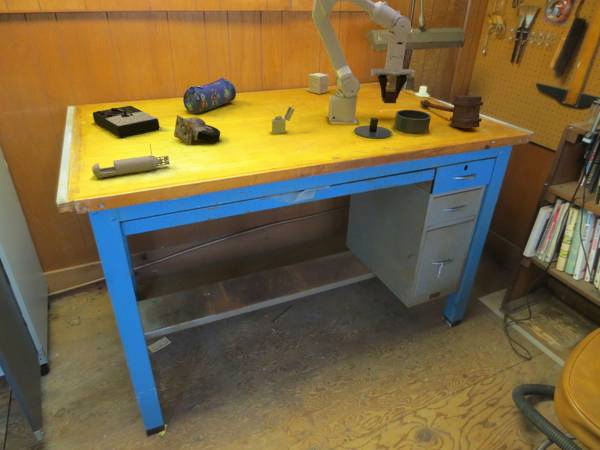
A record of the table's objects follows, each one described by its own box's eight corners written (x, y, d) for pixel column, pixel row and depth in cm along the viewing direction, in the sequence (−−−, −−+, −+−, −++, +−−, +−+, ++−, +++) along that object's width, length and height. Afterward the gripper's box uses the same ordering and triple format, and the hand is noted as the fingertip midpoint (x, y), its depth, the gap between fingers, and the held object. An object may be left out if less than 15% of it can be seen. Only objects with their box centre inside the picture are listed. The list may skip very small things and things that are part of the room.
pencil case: (199, 116, 146) (197, 88, 141) (181, 112, 149) (178, 85, 144) (238, 103, 162) (237, 77, 158) (220, 99, 166) (219, 74, 161)
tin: (398, 135, 136) (401, 119, 133) (390, 125, 145) (392, 109, 142) (432, 136, 136) (435, 119, 134) (421, 125, 146) (424, 109, 143)
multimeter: (132, 115, 144) (130, 101, 142) (160, 129, 133) (158, 114, 130) (93, 123, 136) (90, 107, 134) (120, 138, 125) (116, 122, 122)
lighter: (273, 134, 133) (273, 109, 129) (271, 132, 134) (271, 107, 130) (294, 132, 135) (294, 107, 131) (292, 130, 137) (292, 105, 132)
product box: (328, 92, 182) (329, 74, 178) (319, 94, 178) (320, 76, 175) (317, 89, 186) (318, 72, 182) (308, 91, 182) (309, 74, 178)
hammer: (464, 128, 139) (467, 97, 136) (412, 119, 169) (414, 93, 165) (481, 127, 141) (485, 96, 137) (427, 118, 170) (429, 92, 167)
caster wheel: (223, 147, 128) (200, 152, 120) (195, 132, 132) (172, 136, 124) (227, 126, 125) (204, 130, 117) (199, 112, 129) (175, 114, 121)
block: (384, 103, 144) (386, 91, 142) (381, 100, 147) (383, 88, 145) (395, 103, 144) (397, 91, 142) (392, 100, 148) (394, 88, 146)
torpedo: (95, 182, 99) (88, 156, 96) (93, 174, 103) (87, 149, 99) (171, 169, 107) (168, 145, 103) (167, 163, 110) (164, 139, 107)
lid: (357, 140, 130) (359, 124, 128) (351, 128, 141) (352, 113, 138) (395, 141, 131) (397, 125, 129) (386, 128, 141) (388, 113, 139)
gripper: (376, 57, 134) (371, 100, 141) (420, 58, 135) (413, 101, 142) (371, 53, 140) (366, 95, 147) (413, 54, 141) (407, 95, 148)
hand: (389, 97), depth 145 cm, fingers closed on block, 4 cm apart
